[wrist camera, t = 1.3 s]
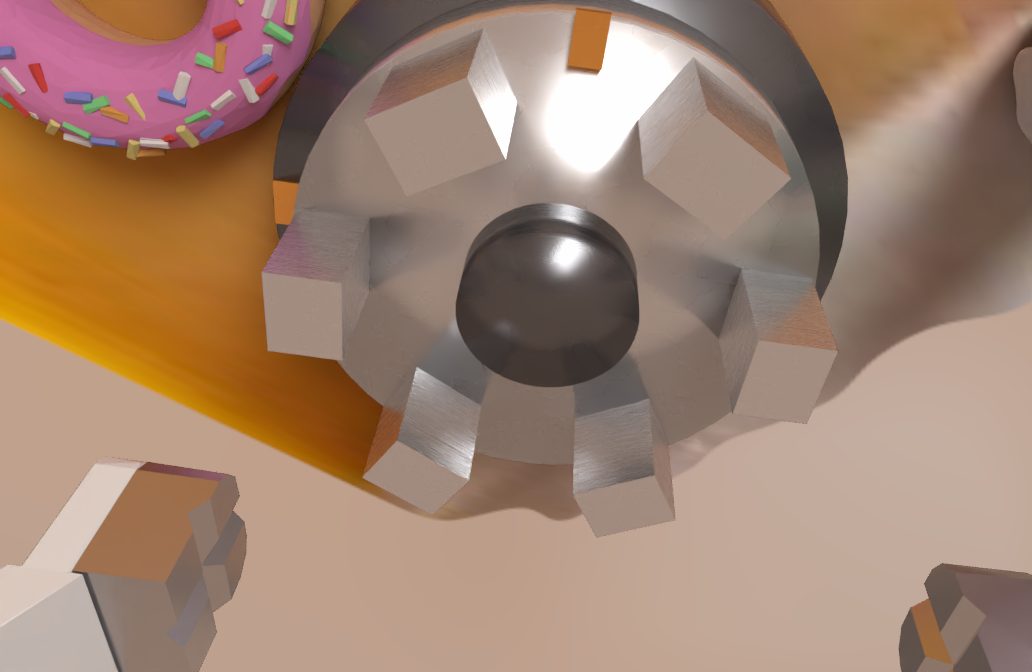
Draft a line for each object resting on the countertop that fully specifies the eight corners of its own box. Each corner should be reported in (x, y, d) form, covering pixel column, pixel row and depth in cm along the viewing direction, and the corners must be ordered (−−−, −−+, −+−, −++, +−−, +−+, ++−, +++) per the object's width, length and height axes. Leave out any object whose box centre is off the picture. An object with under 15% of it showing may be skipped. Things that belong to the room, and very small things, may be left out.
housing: (311, 354, 41) (286, 410, 38) (290, -133, 29) (251, -111, 26) (741, 412, 42) (753, 474, 38) (910, -47, 29) (949, -13, 26)
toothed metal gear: (318, 392, 37) (272, 506, 32) (301, -56, 26) (228, 7, 21) (729, 448, 37) (751, 571, 32) (885, 26, 26) (956, 108, 21)
